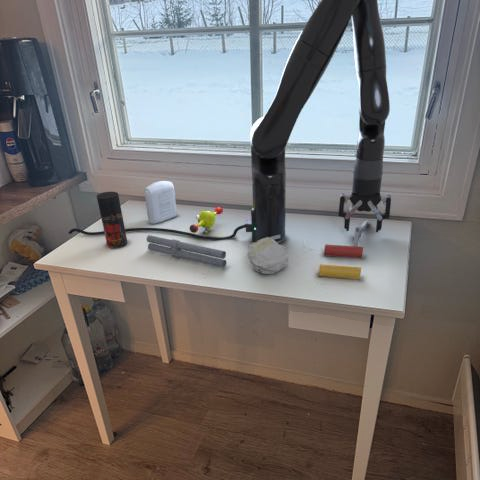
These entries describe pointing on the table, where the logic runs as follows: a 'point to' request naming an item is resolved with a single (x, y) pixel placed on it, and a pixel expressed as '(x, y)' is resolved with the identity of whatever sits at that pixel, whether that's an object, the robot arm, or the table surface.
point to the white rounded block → (160, 201)
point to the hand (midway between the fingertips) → (362, 230)
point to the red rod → (343, 251)
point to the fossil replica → (267, 256)
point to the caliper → (359, 232)
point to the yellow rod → (339, 271)
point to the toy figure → (206, 220)
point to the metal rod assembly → (179, 248)
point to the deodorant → (112, 219)
